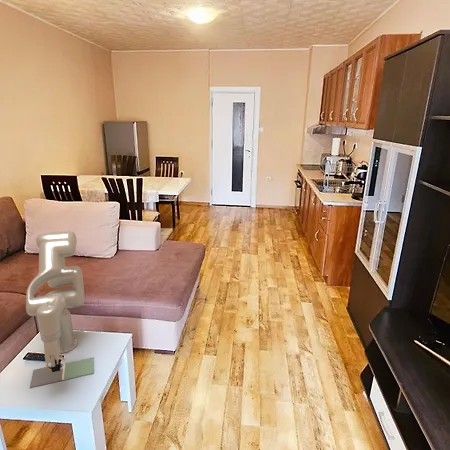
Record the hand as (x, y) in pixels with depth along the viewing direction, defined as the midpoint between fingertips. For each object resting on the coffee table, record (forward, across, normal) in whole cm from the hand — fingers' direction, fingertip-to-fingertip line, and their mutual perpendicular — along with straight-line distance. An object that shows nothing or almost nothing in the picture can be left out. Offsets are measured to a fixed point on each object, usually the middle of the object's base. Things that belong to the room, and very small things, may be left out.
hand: (56, 368), depth 138 cm
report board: (+11, -10, +1) cm, 15 cm away
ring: (+1, 0, 0) cm, 1 cm away
